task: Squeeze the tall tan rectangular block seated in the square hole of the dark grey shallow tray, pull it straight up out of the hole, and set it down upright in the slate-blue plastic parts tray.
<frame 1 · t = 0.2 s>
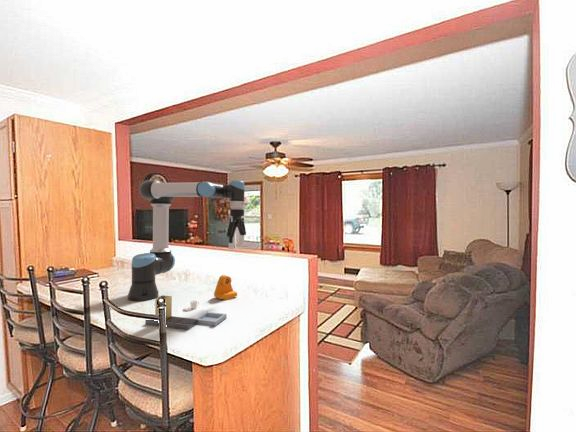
hand: (236, 247, 165), 28 cm above the worktop, tool pointing down, fingers open, 13 cm apart
tan rectangular block: (163, 323, 126), resting on dark grey shallow tray
bracket: (225, 298, 167), on the worktop
dark grey shallow tray: (171, 325, 125), on the worktop
parts tray: (210, 321, 131), on the worktop
teacup and saucer: (187, 310, 147), on the worktop
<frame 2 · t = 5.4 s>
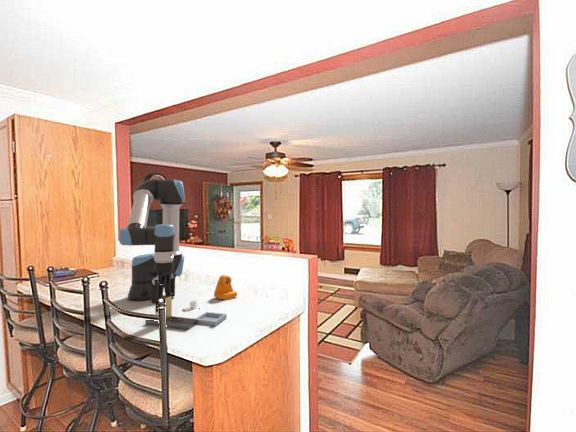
hand: (163, 316, 126), 3 cm above the worktop, tool pointing down, fingers closed on tan rectangular block, 4 cm apart
tan rectangular block: (163, 323, 126), resting on dark grey shallow tray, touching gripper
everything else where it was.
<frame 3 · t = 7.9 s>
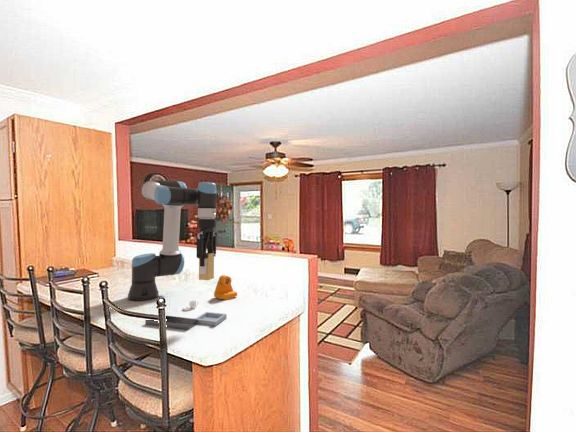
hand: (206, 272, 130), 21 cm above the worktop, tool pointing down, fingers closed on tan rectangular block, 4 cm apart
tan rectangular block: (206, 278, 130), point 19 cm above the worktop, touching gripper
everything else where it was.
when the fingers open (5 cm above the worktop, at t = 10.8 s): tan rectangular block drops 1 cm, resting on parts tray.
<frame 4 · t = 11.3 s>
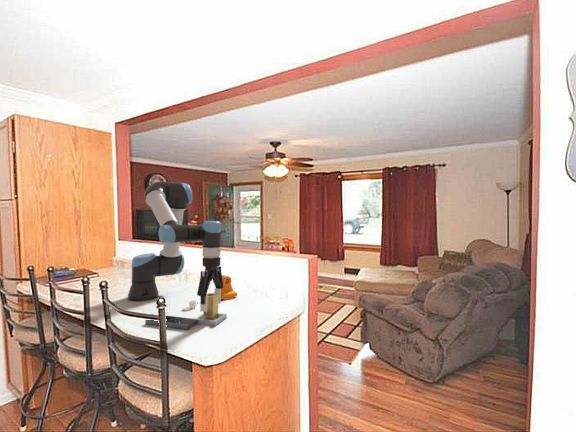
hand: (210, 307, 131), 6 cm above the worktop, tool pointing down, fingers open, 11 cm apart
tan rectangular block: (210, 319, 131), resting on parts tray
everything else where it was.
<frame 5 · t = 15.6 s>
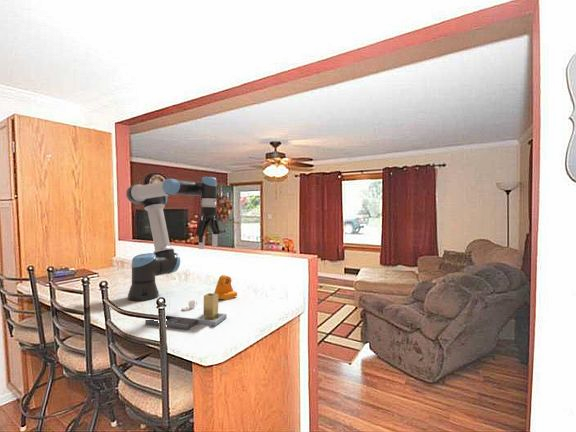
hand: (208, 247, 158), 29 cm above the worktop, tool pointing down, fingers open, 13 cm apart
at the end: tan rectangular block inside the target area on the parts tray (0.0 cm from its centre), point 0.5 cm above the parts tray's base; tan rectangular block tilted 0°; tan rectangular block touching parts tray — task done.
